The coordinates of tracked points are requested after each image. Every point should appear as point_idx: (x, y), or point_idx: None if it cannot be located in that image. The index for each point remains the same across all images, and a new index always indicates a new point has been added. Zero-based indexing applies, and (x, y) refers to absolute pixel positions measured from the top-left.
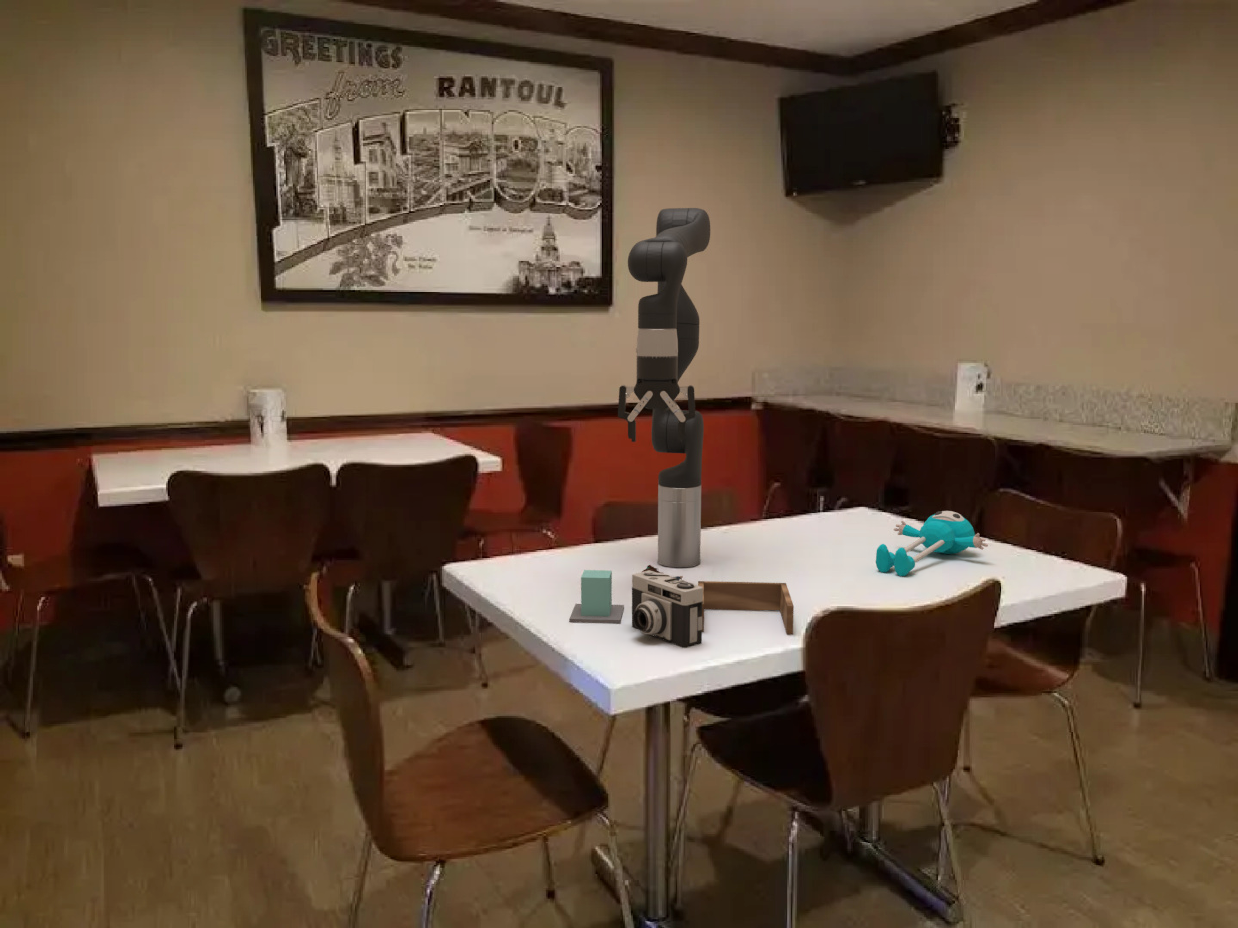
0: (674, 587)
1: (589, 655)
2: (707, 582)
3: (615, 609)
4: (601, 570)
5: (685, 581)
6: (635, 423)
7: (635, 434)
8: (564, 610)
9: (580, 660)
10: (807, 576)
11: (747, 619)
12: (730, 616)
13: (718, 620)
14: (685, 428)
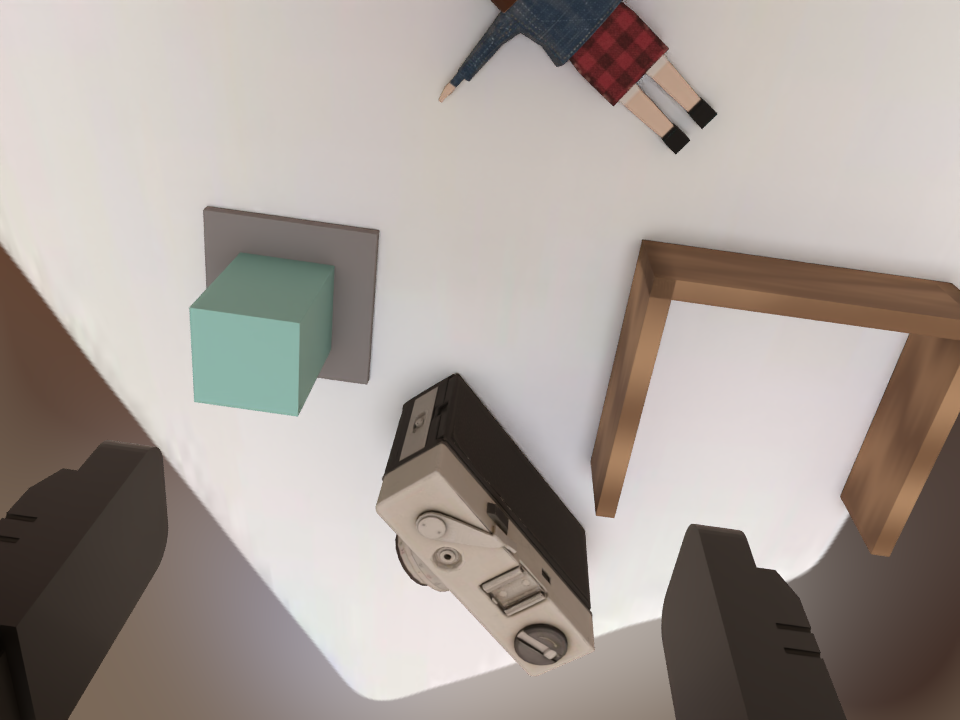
0: (505, 645)
1: (300, 579)
2: (687, 298)
3: (348, 282)
4: (258, 318)
5: (645, 24)
6: (49, 695)
7: (127, 567)
8: (176, 241)
9: (283, 602)
10: None
11: (775, 369)
12: (729, 338)
13: (678, 372)
14: (823, 693)
